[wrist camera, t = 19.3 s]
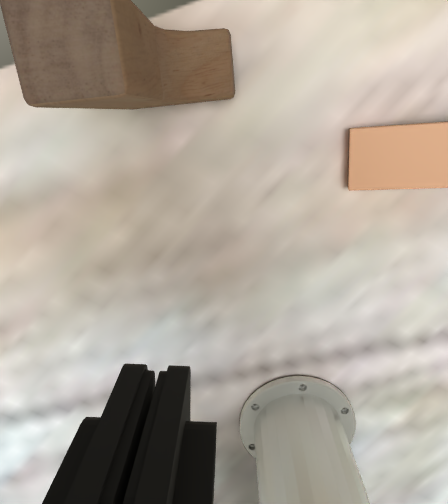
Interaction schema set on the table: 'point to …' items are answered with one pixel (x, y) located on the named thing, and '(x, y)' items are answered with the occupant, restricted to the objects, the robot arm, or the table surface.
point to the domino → (398, 157)
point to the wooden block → (112, 56)
